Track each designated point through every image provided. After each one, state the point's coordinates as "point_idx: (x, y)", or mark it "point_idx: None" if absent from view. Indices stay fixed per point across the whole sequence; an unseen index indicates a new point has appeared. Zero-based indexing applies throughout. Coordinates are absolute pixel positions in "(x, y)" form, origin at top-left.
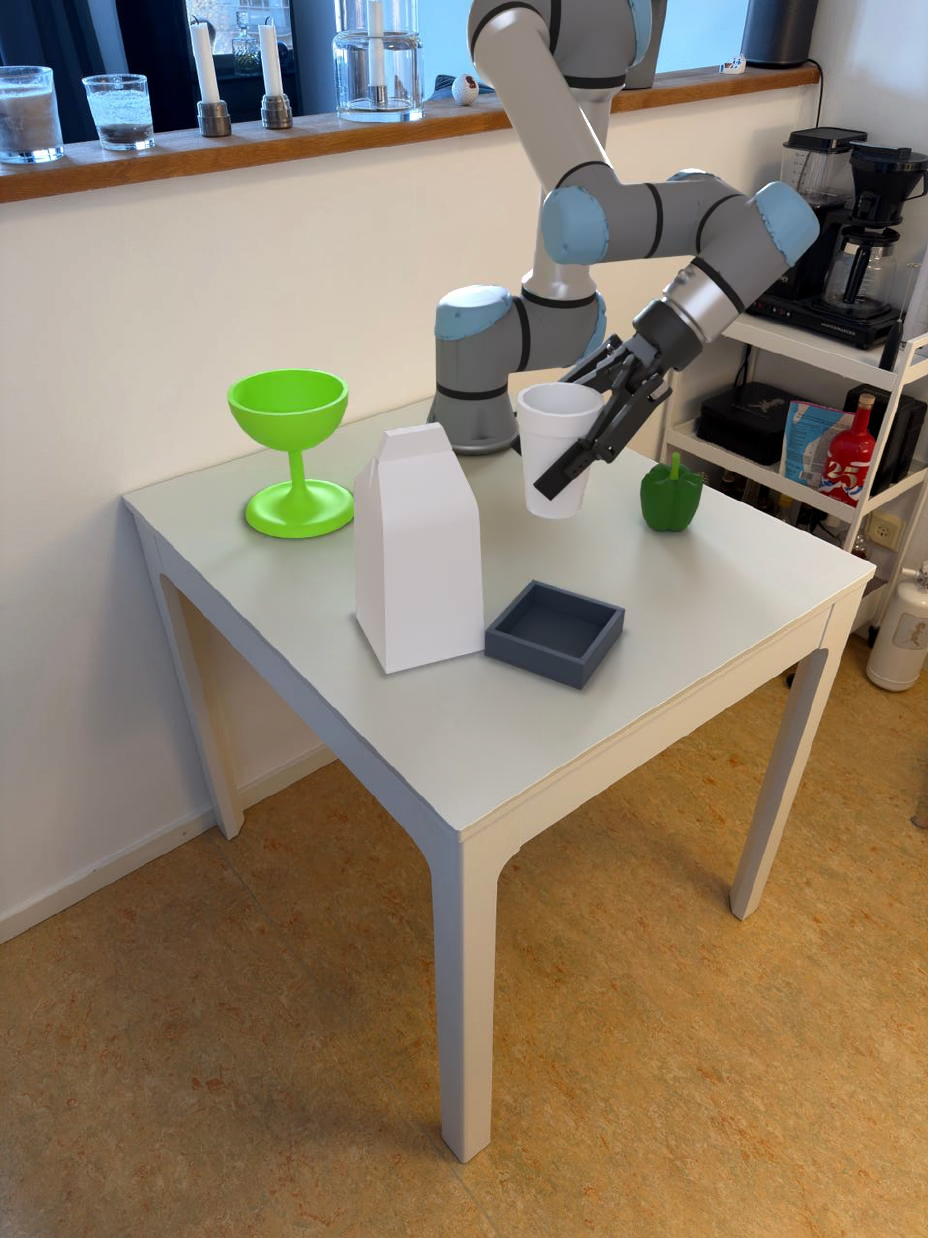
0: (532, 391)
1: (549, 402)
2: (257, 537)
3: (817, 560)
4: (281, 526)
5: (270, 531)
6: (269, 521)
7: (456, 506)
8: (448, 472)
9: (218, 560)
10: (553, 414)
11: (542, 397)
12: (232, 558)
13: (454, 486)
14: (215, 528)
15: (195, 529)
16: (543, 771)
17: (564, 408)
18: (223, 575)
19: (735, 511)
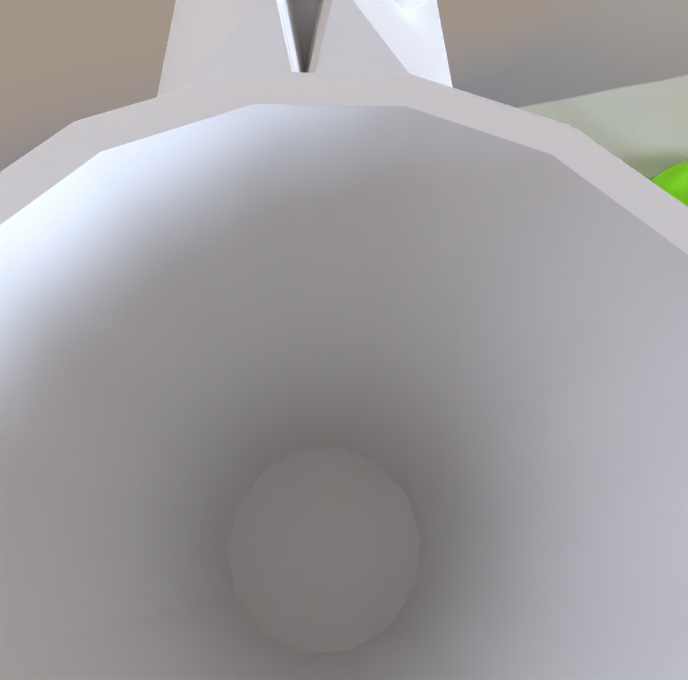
0: (678, 297)
1: (654, 527)
2: (646, 166)
3: None
4: (663, 186)
5: (656, 177)
6: (680, 174)
7: (163, 81)
8: (226, 6)
9: (585, 116)
10: (14, 190)
11: (681, 446)
12: (588, 130)
13: (198, 48)
14: (678, 126)
15: (677, 106)
16: None
17: (597, 674)
18: (544, 115)
19: None
